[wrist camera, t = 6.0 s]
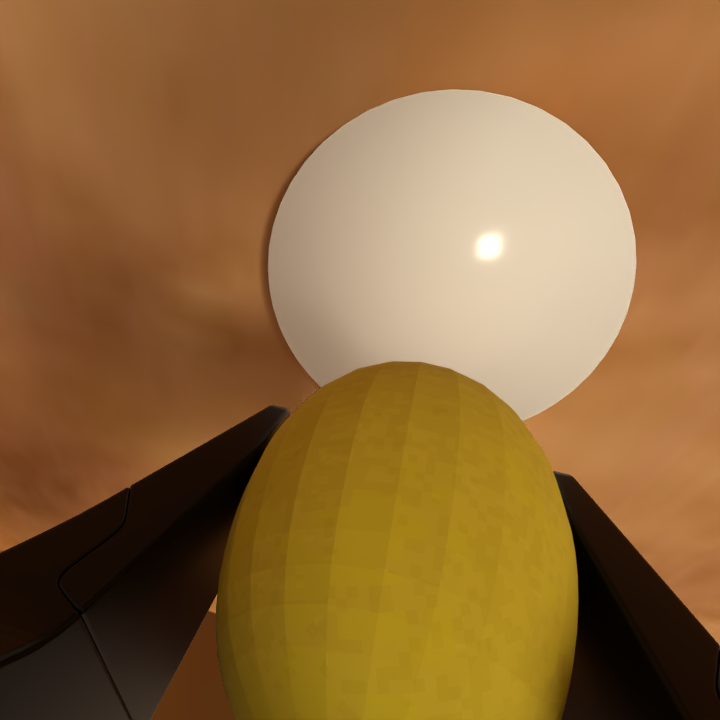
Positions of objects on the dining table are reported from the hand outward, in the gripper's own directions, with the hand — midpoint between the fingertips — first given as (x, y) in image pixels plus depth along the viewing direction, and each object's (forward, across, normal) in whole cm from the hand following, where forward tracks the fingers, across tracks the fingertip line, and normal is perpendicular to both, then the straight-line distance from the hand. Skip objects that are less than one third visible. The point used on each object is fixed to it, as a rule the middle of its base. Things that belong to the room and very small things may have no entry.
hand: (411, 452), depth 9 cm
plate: (+10, 0, 0) cm, 10 cm away
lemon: (+2, 0, 0) cm, 2 cm away
